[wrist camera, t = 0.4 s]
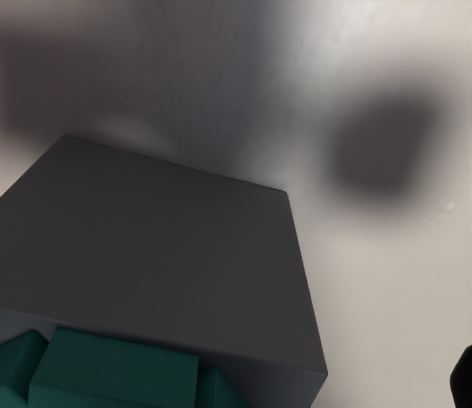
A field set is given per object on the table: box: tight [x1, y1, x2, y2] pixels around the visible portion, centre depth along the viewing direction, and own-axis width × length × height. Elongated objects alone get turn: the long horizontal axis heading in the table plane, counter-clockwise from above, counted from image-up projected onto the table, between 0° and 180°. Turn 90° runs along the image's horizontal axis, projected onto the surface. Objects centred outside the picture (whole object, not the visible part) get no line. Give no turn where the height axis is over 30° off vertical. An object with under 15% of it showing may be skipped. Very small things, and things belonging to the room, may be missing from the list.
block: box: [0, 136, 328, 408], centre depth 17 cm, size 10×10×10 cm
